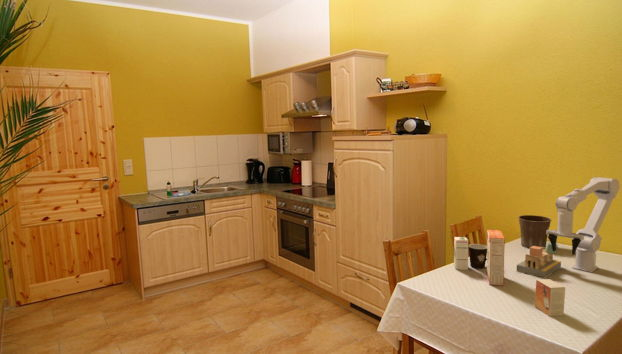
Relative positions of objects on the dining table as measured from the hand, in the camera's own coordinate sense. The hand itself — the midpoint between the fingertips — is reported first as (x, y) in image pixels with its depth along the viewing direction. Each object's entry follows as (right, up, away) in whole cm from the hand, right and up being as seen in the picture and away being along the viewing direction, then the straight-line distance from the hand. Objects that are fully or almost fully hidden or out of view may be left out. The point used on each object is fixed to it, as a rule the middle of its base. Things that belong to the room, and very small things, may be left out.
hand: (563, 252), depth 180 cm
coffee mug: (-33, -9, +11) cm, 36 cm away
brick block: (-12, -2, +2) cm, 12 cm away
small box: (-29, -14, -37) cm, 49 cm away
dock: (-8, -9, +6) cm, 13 cm away
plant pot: (+10, -5, +43) cm, 44 cm away
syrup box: (-43, -10, +10) cm, 45 cm away
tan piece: (-8, -6, +6) cm, 11 cm away
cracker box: (-34, -11, -6) cm, 37 cm away
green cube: (-2, -1, +7) cm, 7 cm away
